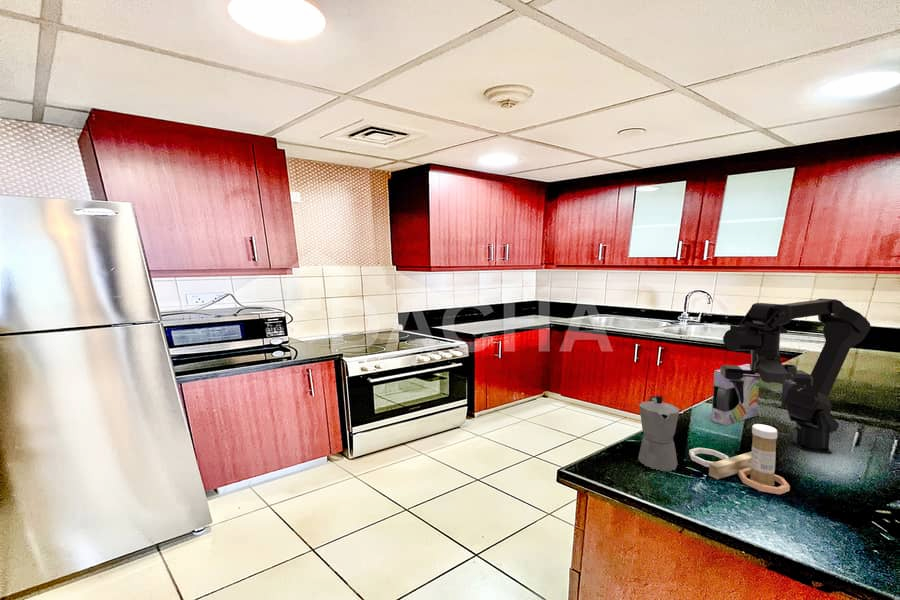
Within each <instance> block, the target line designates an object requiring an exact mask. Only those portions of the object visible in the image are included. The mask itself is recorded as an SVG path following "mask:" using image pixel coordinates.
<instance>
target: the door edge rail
mask: <svg viewBox="0 0 900 600" xmlns="http://www.w3.org/2000/svg"><path fill="white" fill-rule="evenodd" d="M751 455H752V451H749V452H745V453H742V454H739V455H734V456H730V457H729V458H727V459H724V460H723V459H721V460H718V461H712V462H713V463H710V464H709V467H708V476H709V477H711V478H713V479H715V480H720V479H724V478H726V477H730V476H732V475H736V474H738V471H739V470H742V469H745V468H751Z"/></svg>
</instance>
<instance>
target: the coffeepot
mask: <svg viewBox="0 0 900 600" xmlns="http://www.w3.org/2000/svg"><path fill="white" fill-rule="evenodd" d="M663 399H664V397H663V396H661V395H655V396H654V395H653V396H650V398H649V400H648V401H642V402H641V403H640V404H639V406H638V407H639V413H640V422H641V428H642V431H643V436H642V439H641V444H640V449H639V451H638V452H639V453H638V458H637V460H638V461H639V462H640V463H641V464H642V465H643V464H644V465H643V466H645V467H646V466H647V467H646V468H648V467H650V468H649V469H651V468H652V470H654V469H656V470H655V471H658V470H660V471H659V472H673V471H676V469H677V466H678V459H677V458H678V457H677V452H676V445H675V441H674V436H675V434H676V429H677V426H678V425H677V424H678V421H679V420H678V419H679V415H680V410H681V409H680V408H678V407H677V406H675V405H673V404H671V403H668V402H663ZM672 470H673V471H672Z"/></svg>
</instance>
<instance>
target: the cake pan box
mask: <svg viewBox="0 0 900 600" xmlns="http://www.w3.org/2000/svg"><path fill="white" fill-rule="evenodd" d="M750 365H751V363H750V364H749V363H745V364H742V365H737V366H738V367H740V368H741V369H743V370H751V369H750ZM755 374H757V373H755ZM741 379H742V380H743V381H744V384H743V393H744V402H743V404H742V403H741V402H740V400H739V397H738V394H737V392H736V389H735V387H734V385H733V383H732V382H731V381H729V380H728V379H726V378H724V377H723V376H722V375H721V374H720V369H715V370H714V373H713V391H712V392H713V393H712V406H711V422H713V423H716V424H718V425H721V426H729V425H732V424H735V423H739V422H741V421H744V420H747V419H748V420H749V419H750V418H753V417H756V416H758V408H759V407H758V406H759V405H758V404H759V392H760V383H761V382H760V380H761V378H758V377H746V376H743V378H741Z"/></svg>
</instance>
